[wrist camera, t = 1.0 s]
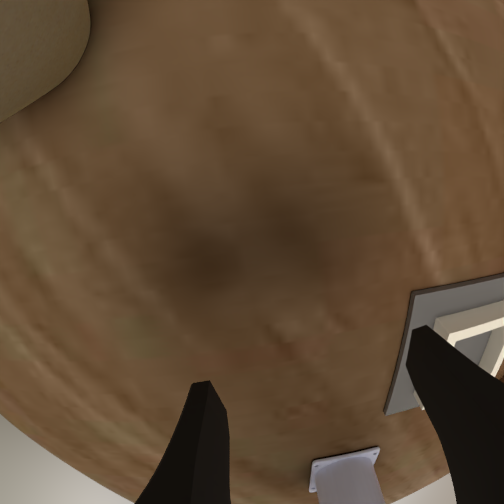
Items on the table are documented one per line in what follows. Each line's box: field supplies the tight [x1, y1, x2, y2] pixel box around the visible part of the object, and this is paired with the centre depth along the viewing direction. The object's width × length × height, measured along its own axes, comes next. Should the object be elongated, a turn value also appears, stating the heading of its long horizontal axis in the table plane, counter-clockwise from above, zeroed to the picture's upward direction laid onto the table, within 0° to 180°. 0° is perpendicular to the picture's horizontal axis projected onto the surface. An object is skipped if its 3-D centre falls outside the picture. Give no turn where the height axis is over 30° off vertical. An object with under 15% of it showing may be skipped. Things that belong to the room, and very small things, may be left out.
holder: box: [383, 273, 504, 416], centre depth 23 cm, size 14×14×3 cm
